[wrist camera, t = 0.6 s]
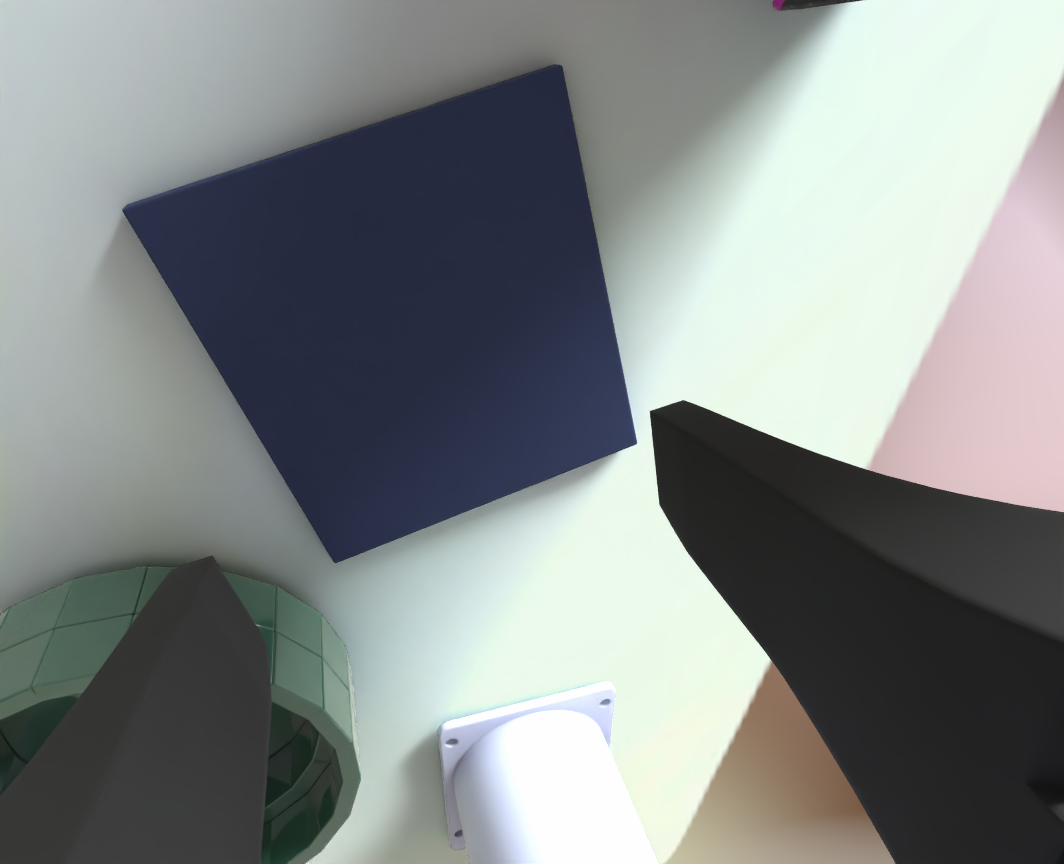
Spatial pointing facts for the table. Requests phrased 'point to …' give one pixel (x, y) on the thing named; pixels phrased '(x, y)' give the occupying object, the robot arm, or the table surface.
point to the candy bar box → (804, 3)
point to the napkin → (407, 309)
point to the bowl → (295, 675)
